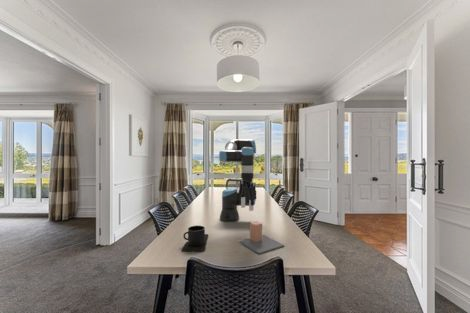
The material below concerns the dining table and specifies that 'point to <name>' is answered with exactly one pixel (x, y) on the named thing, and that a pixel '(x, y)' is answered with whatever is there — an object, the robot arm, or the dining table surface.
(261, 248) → the mat
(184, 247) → the black flat plate
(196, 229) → the mug
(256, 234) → the block
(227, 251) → the dining table surface
